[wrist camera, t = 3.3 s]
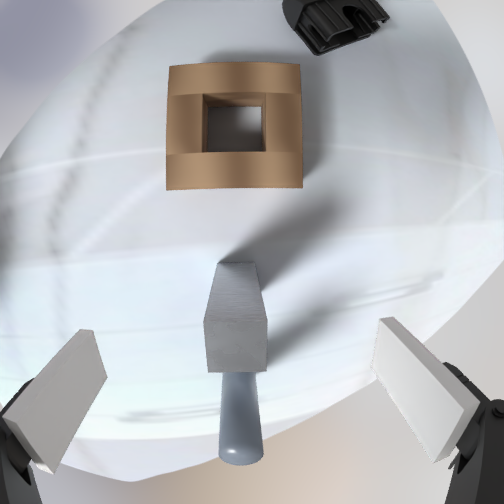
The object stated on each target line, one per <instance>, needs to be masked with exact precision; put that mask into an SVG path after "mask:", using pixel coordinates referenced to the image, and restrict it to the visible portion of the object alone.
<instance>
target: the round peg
mask: <svg viewBox="0 0 504 504" xmlns="http://www.w3.org/2000/svg"><path fill="white" fill-rule="evenodd" d="M263 454H264V453H263V443H262V434H261V424H260V415H259V405H258V395H257V386H256V376H255V372H223V379H222V396H221V414H220V433H219V457H220V458H221V459H222V460H223V461H224V462H226V463H229V464H233V465H249V464H253V463H256V462H258V461H259V460H260V459H261V458H262V457H263Z"/></svg>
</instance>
